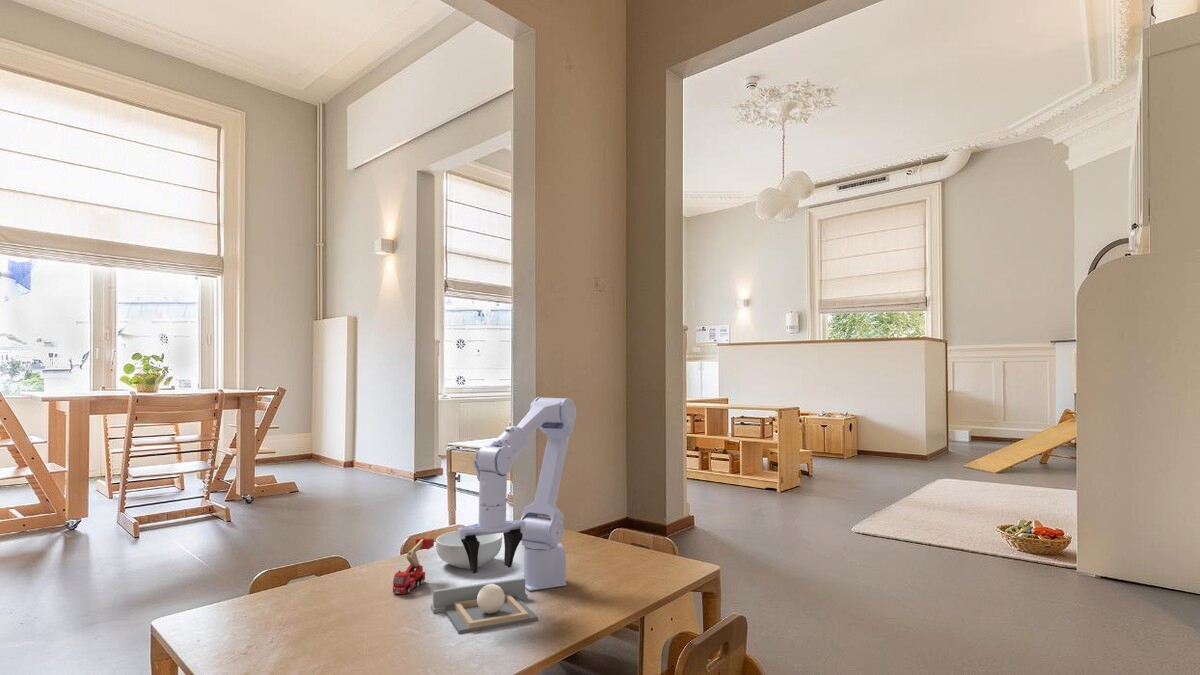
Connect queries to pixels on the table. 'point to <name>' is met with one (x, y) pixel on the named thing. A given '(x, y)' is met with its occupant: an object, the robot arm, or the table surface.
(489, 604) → the ball
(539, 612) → the table surface
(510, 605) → the resting mat
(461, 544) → the cereal bowl
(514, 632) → the table surface
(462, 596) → the grey barrier bar
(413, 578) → the toy fire truck
